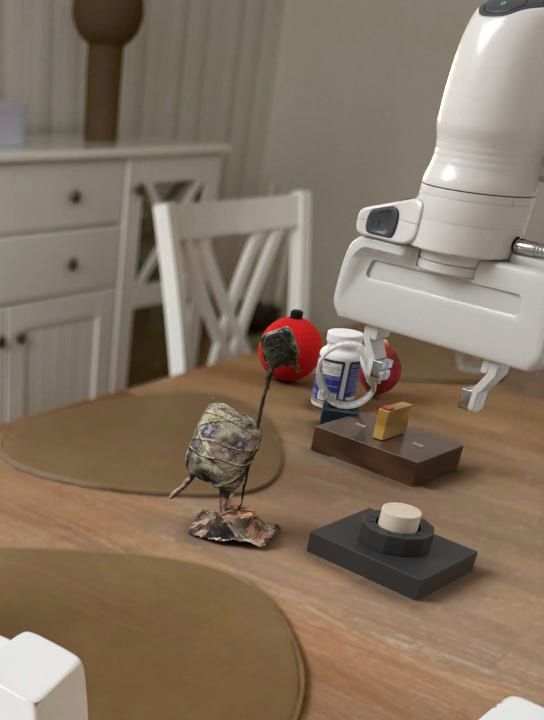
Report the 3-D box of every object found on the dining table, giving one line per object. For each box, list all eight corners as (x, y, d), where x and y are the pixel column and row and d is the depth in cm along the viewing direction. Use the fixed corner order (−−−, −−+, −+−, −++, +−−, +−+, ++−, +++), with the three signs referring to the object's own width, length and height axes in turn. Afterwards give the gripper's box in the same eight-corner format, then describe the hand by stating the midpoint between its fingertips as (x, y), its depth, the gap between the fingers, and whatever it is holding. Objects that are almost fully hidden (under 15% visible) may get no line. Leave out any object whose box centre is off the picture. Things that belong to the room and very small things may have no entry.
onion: (401, 398, 139) (416, 341, 135) (382, 406, 136) (396, 348, 131) (365, 388, 143) (377, 332, 138) (345, 395, 139) (357, 338, 135)
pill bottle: (341, 398, 137) (357, 326, 132) (358, 412, 133) (375, 338, 127) (303, 398, 136) (317, 325, 131) (319, 412, 132) (334, 337, 126)
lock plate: (457, 469, 116) (464, 444, 114) (411, 487, 110) (418, 461, 109) (357, 434, 125) (362, 410, 123) (310, 449, 119) (315, 424, 117)
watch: (368, 440, 123) (389, 352, 117) (303, 431, 124) (321, 344, 118) (368, 426, 127) (388, 341, 121) (306, 418, 129) (322, 333, 123)
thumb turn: (395, 429, 118) (402, 399, 116) (405, 433, 117) (413, 402, 115) (371, 437, 115) (379, 406, 113) (382, 440, 114) (389, 409, 112)
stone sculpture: (195, 501, 103) (223, 306, 93) (292, 535, 97) (333, 331, 87) (152, 524, 97) (176, 319, 87) (252, 561, 92) (291, 347, 81)
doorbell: (472, 572, 93) (484, 533, 91) (415, 602, 87) (427, 562, 85) (364, 527, 100) (373, 490, 98) (305, 551, 94) (313, 513, 92)
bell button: (424, 529, 92) (429, 512, 91) (403, 538, 89) (408, 521, 88) (391, 515, 94) (395, 499, 93) (370, 524, 92) (374, 507, 91)
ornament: (326, 381, 144) (340, 311, 139) (298, 393, 138) (312, 321, 133) (271, 367, 149) (283, 299, 144) (242, 378, 143) (254, 308, 137)
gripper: (610, 250, 75) (549, 423, 82) (384, 205, 88) (348, 358, 95) (573, 255, 71) (512, 436, 79) (343, 207, 84) (309, 367, 91)
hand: (421, 393), depth 87 cm, fingers open, 8 cm apart
